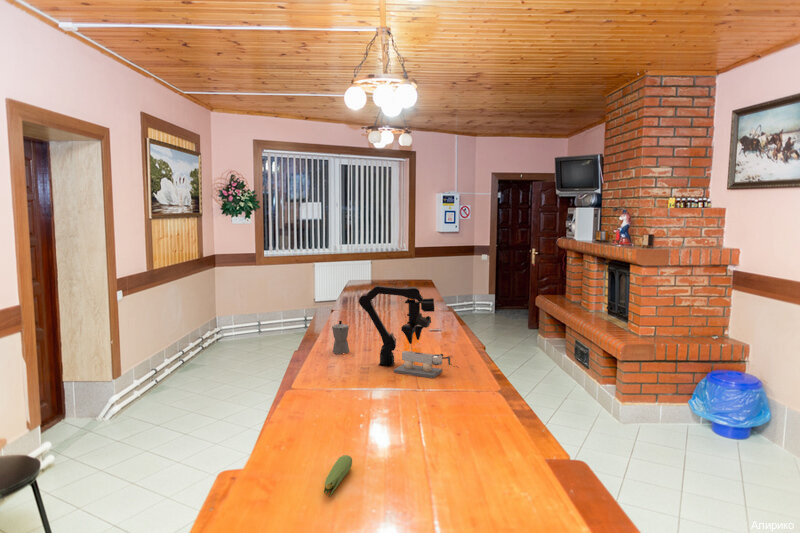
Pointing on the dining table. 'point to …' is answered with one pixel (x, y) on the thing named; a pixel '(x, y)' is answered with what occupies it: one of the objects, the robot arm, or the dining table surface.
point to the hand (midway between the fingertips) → (414, 341)
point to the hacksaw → (448, 359)
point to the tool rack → (418, 370)
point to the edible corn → (337, 473)
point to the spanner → (422, 357)
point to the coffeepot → (340, 338)
